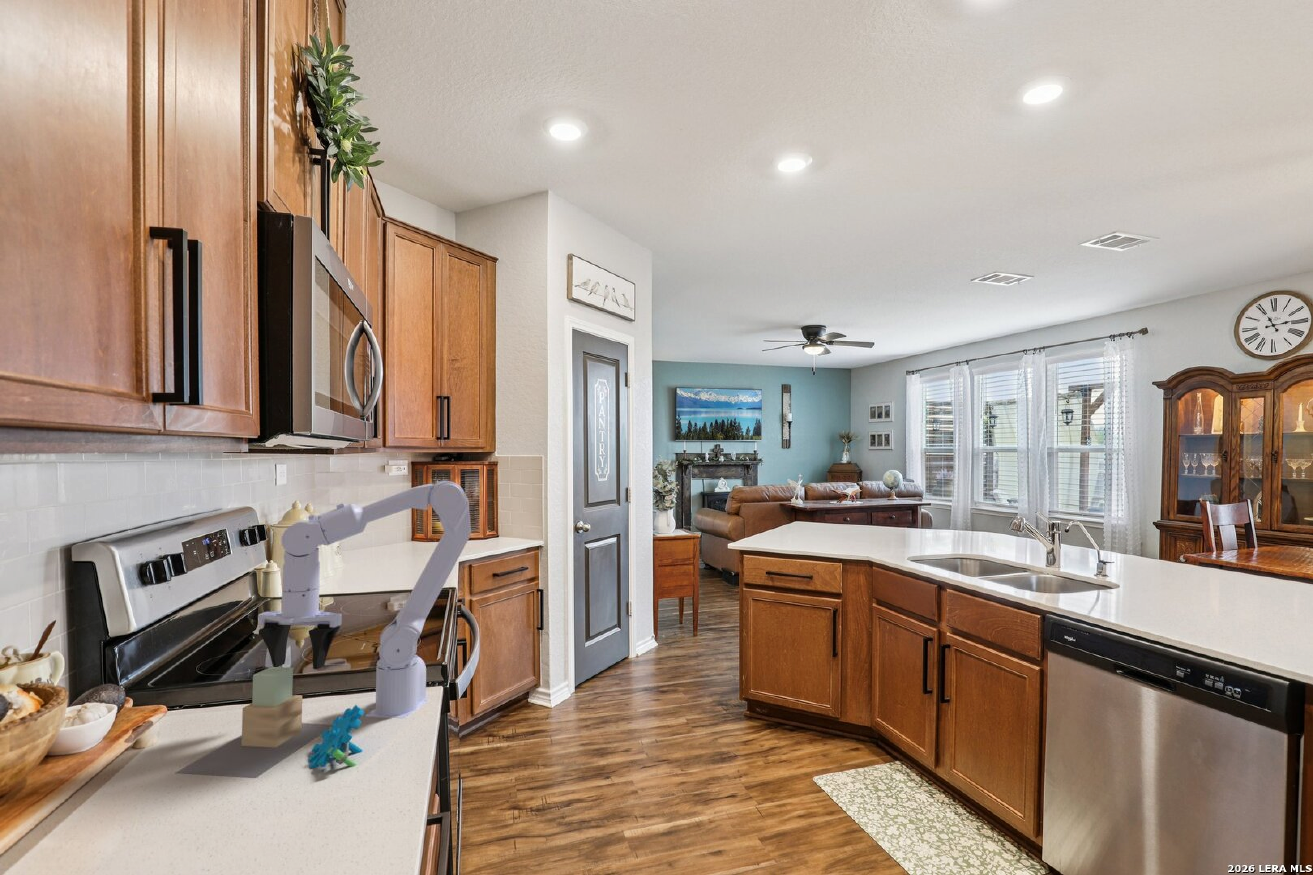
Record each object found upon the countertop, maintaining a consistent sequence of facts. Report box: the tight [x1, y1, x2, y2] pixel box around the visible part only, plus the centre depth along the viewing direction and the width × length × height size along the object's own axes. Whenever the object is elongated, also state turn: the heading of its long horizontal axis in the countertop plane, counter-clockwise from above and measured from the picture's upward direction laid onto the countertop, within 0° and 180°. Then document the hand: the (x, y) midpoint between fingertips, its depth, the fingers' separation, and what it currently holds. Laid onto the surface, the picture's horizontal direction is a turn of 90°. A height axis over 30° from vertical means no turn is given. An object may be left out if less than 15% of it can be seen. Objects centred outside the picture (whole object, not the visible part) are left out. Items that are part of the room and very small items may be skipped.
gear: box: [307, 704, 365, 769], centre depth 95 cm, size 11×6×10 cm
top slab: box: [241, 694, 303, 728], centre depth 101 cm, size 6×6×3 cm
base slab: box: [241, 713, 303, 748], centre depth 101 cm, size 6×6×3 cm
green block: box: [251, 666, 294, 707], centre depth 101 cm, size 4×4×5 cm
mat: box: [174, 722, 333, 779], centre depth 97 cm, size 18×13×1 cm
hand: (298, 666), depth 107 cm, fingers open, 7 cm apart
